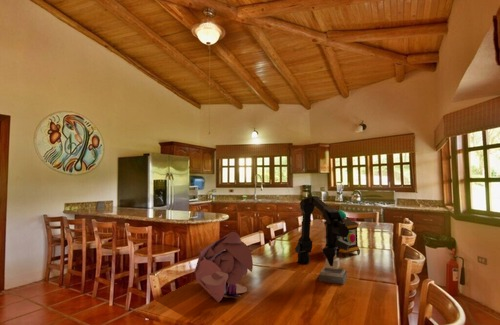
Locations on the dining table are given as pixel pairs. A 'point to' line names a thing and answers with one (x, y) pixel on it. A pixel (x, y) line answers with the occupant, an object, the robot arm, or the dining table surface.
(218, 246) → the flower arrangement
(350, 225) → the decorative lantern
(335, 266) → the beige cube with knob
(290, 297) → the dining table surface
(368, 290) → the dining table surface
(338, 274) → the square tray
